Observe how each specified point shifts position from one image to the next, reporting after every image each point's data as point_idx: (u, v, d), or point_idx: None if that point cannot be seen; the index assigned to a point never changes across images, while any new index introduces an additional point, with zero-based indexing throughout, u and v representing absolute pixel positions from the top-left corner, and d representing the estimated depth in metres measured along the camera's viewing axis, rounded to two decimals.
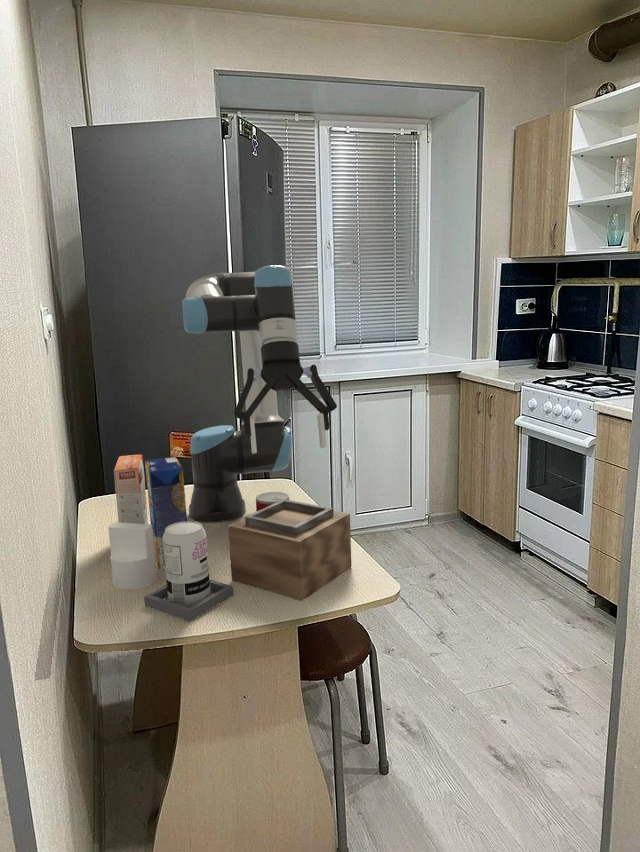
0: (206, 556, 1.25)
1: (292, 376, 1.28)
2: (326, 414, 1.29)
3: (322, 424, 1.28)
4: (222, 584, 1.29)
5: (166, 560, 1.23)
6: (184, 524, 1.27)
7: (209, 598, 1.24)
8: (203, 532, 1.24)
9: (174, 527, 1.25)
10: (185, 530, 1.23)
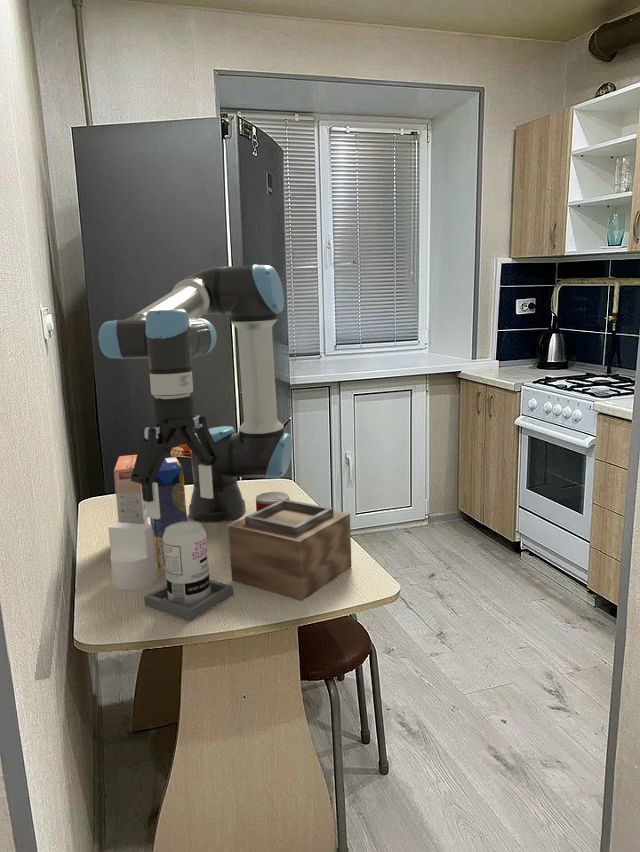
0: (206, 556, 1.25)
1: (189, 432, 1.21)
2: (211, 465, 1.28)
3: (210, 476, 1.27)
4: (222, 584, 1.29)
5: (166, 560, 1.23)
6: (184, 524, 1.27)
7: (209, 598, 1.24)
8: (203, 532, 1.24)
9: (174, 527, 1.25)
10: (185, 530, 1.23)
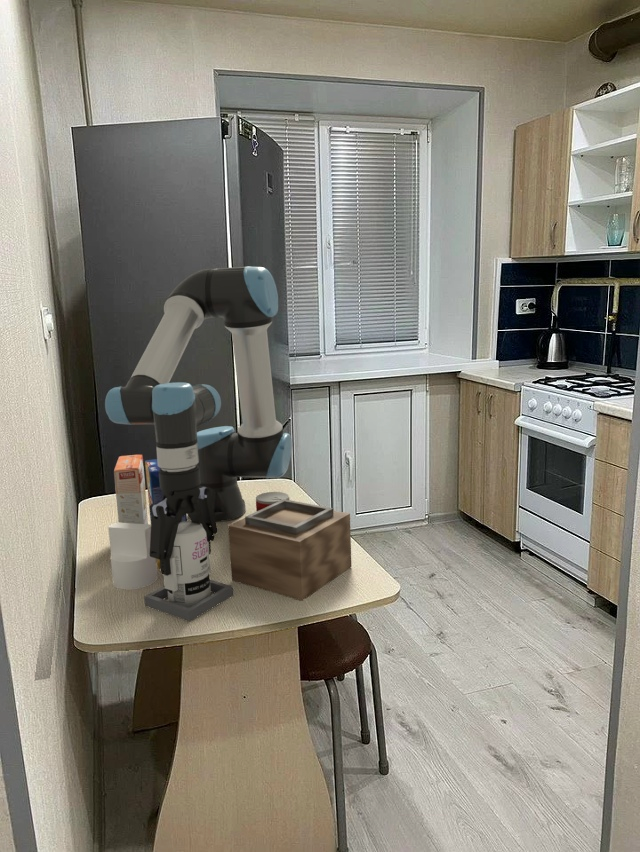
0: (206, 556, 1.25)
1: (194, 502, 1.24)
2: (207, 541, 1.29)
3: None
4: (222, 584, 1.29)
5: None
6: (184, 524, 1.27)
7: (209, 598, 1.24)
8: (203, 532, 1.24)
9: None
10: (185, 530, 1.23)
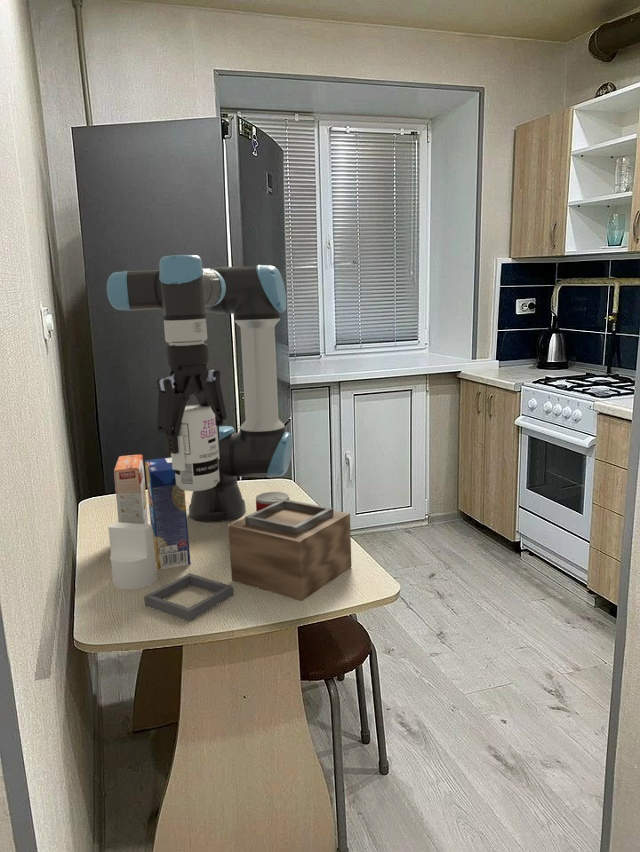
0: (215, 438, 1.22)
1: (203, 381, 1.21)
2: (216, 426, 1.26)
3: None
4: (222, 584, 1.29)
5: None
6: (192, 406, 1.24)
7: (209, 598, 1.24)
8: (212, 412, 1.21)
9: None
10: (193, 410, 1.20)
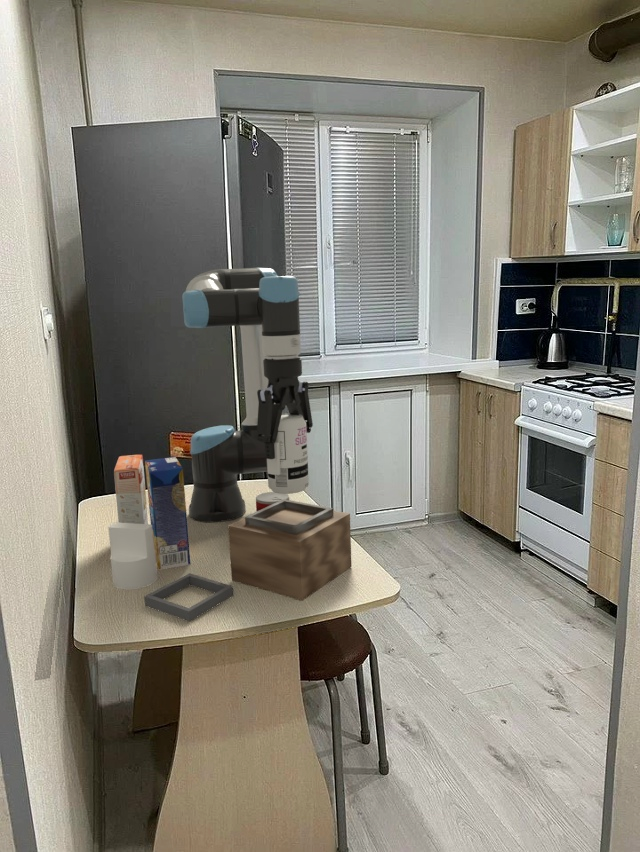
0: (306, 444, 1.32)
1: (296, 392, 1.30)
2: None
3: None
4: (222, 584, 1.29)
5: None
6: (284, 415, 1.33)
7: (209, 598, 1.24)
8: (304, 421, 1.31)
9: None
10: (288, 418, 1.30)
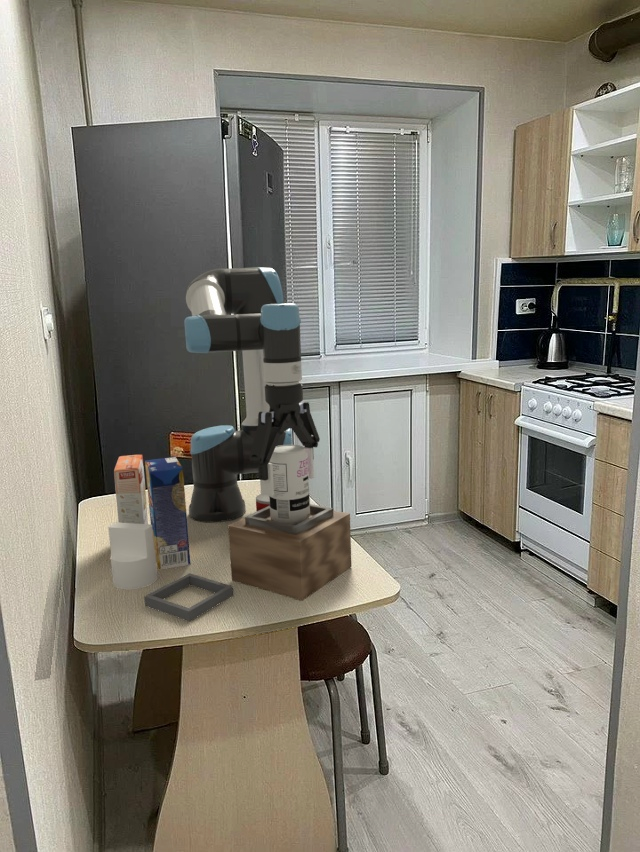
0: (307, 475, 1.33)
1: (297, 417, 1.32)
2: (312, 447, 1.39)
3: (312, 458, 1.38)
4: (222, 584, 1.29)
5: None
6: (285, 446, 1.35)
7: (209, 598, 1.24)
8: (305, 453, 1.32)
9: (277, 448, 1.33)
10: (289, 450, 1.32)
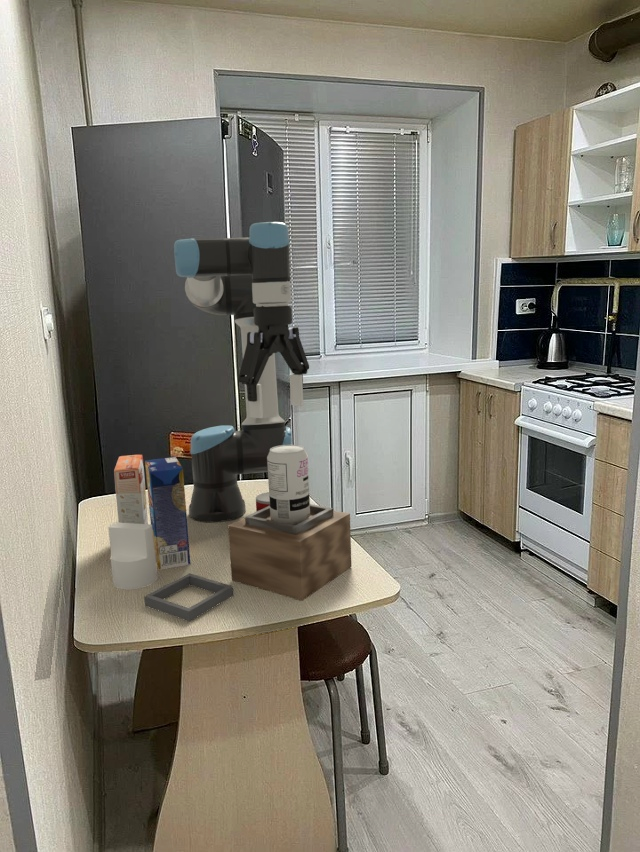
0: (307, 475, 1.33)
1: (286, 340, 1.30)
2: (301, 374, 1.38)
3: (301, 385, 1.37)
4: (222, 584, 1.29)
5: (271, 478, 1.31)
6: (285, 446, 1.35)
7: (209, 598, 1.24)
8: (305, 453, 1.32)
9: (277, 448, 1.34)
10: (289, 450, 1.32)
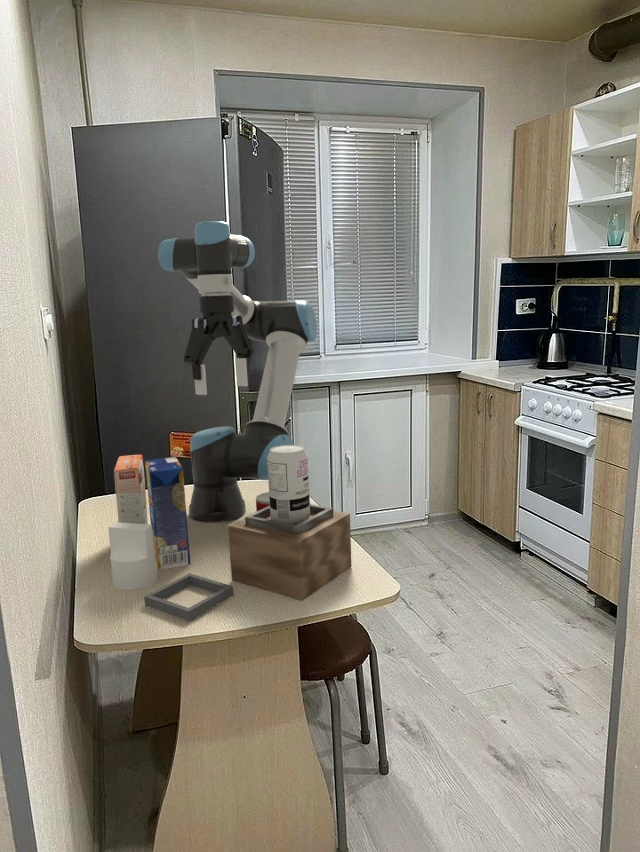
0: (307, 475, 1.33)
1: (229, 326, 1.46)
2: (246, 358, 1.54)
3: (245, 367, 1.53)
4: (222, 584, 1.29)
5: (271, 478, 1.31)
6: (286, 446, 1.35)
7: (209, 598, 1.24)
8: (305, 453, 1.32)
9: (277, 448, 1.34)
10: (289, 450, 1.32)
